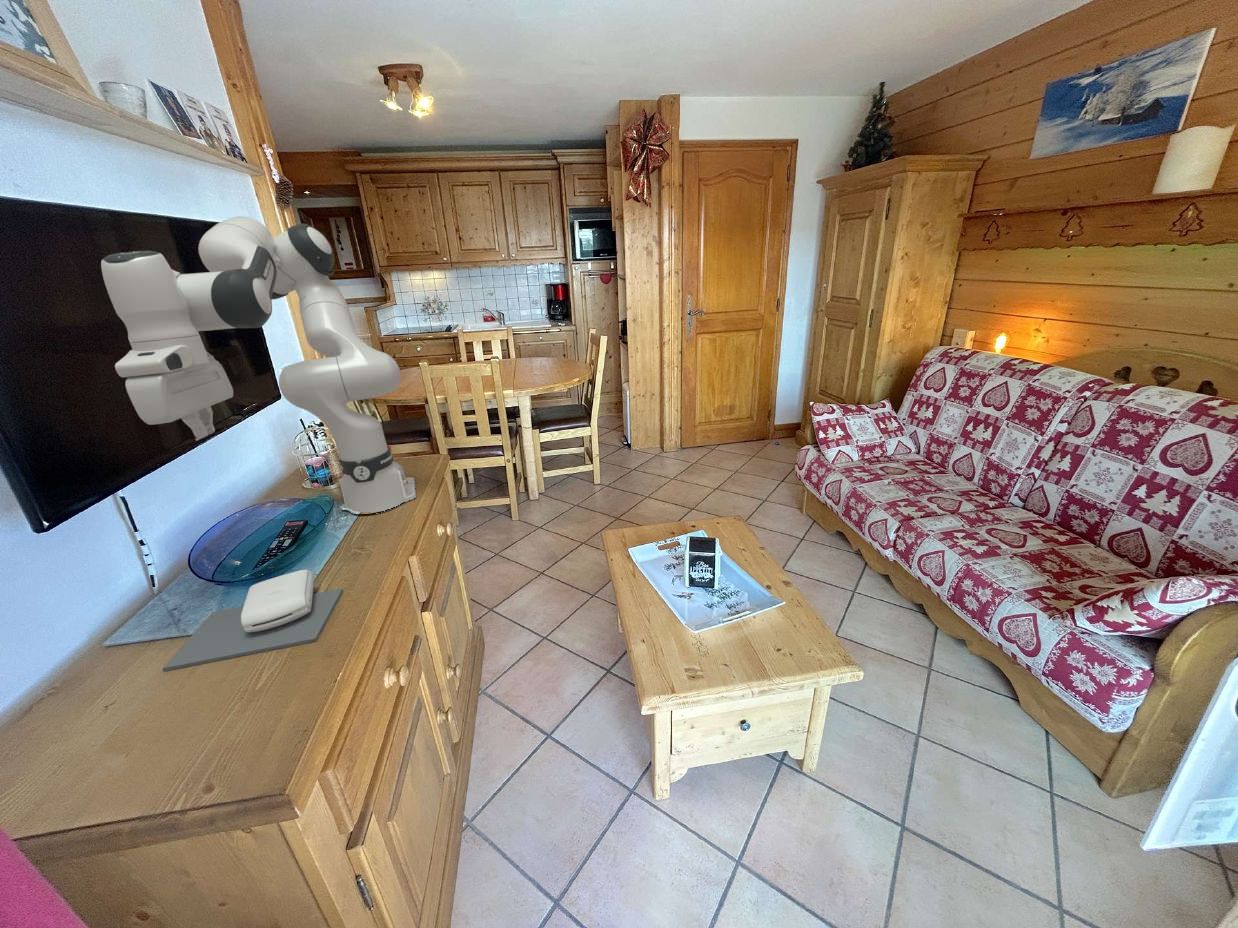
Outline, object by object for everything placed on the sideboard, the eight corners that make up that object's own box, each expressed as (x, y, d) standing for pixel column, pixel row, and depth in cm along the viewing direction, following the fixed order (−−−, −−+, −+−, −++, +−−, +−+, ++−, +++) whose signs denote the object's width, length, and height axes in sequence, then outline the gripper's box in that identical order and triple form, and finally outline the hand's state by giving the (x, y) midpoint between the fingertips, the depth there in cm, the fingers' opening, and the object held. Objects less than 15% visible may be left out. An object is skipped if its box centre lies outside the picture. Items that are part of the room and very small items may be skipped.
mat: (214, 614, 88) (212, 612, 87) (343, 591, 91) (342, 588, 91) (163, 671, 75) (162, 668, 74) (316, 641, 78) (315, 638, 78)
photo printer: (311, 565, 92) (306, 598, 81) (318, 583, 93) (314, 619, 83) (246, 583, 87) (232, 621, 77) (255, 603, 89) (242, 642, 79)
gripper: (189, 350, 89) (218, 422, 94) (105, 368, 70) (146, 456, 75) (227, 347, 90) (253, 417, 95) (153, 363, 71) (191, 450, 77)
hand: (205, 435), depth 85 cm, fingers closed
